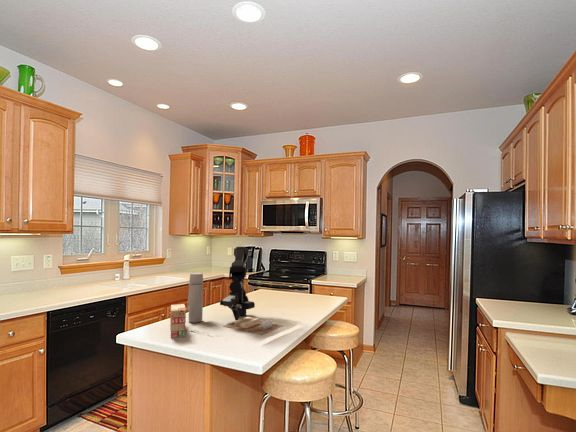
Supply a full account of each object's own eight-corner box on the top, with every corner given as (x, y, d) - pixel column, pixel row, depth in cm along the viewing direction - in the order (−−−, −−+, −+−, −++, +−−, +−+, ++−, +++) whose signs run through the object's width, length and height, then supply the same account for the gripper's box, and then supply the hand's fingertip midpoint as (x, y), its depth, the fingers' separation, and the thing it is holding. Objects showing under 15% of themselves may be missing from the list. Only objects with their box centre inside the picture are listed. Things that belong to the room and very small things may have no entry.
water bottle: (205, 320, 181) (206, 273, 182) (196, 323, 174) (197, 274, 175) (192, 318, 185) (193, 272, 186) (182, 321, 178) (183, 273, 179)
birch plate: (234, 326, 165) (234, 320, 165) (247, 321, 174) (247, 316, 174) (245, 328, 161) (245, 323, 162) (258, 323, 170) (258, 318, 170)
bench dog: (260, 330, 159) (260, 322, 159) (269, 326, 164) (269, 319, 165) (263, 330, 158) (263, 323, 158) (272, 327, 164) (272, 319, 164)
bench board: (222, 329, 164) (222, 326, 164) (246, 321, 179) (246, 318, 179) (261, 338, 151) (261, 334, 151) (283, 328, 166) (283, 325, 166)
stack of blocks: (169, 325, 171) (170, 300, 172) (182, 324, 173) (183, 300, 174) (170, 338, 151) (171, 310, 151) (185, 336, 153) (185, 309, 154)
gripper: (212, 289, 170) (211, 321, 169) (240, 293, 160) (240, 327, 159) (227, 286, 180) (227, 316, 179) (255, 290, 169) (255, 322, 169)
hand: (236, 320), depth 171 cm, fingers closed
